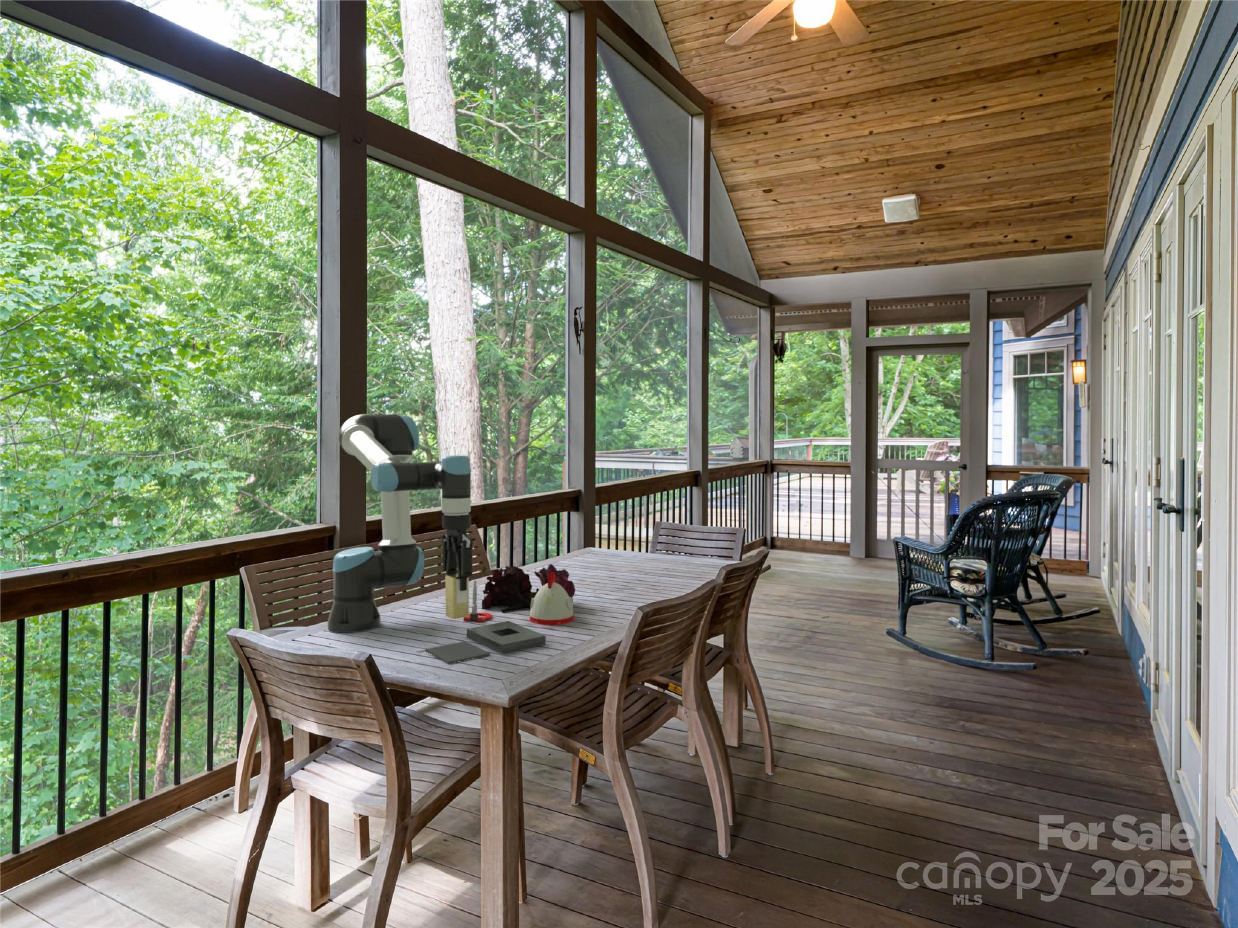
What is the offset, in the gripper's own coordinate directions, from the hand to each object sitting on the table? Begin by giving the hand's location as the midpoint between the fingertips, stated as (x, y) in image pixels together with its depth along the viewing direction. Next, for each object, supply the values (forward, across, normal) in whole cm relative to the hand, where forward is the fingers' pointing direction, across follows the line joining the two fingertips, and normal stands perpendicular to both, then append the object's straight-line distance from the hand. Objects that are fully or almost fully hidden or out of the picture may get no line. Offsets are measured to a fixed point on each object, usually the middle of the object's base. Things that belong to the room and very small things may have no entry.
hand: (457, 600), depth 193 cm
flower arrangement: (+14, +32, -44) cm, 56 cm away
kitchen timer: (+14, +14, -40) cm, 44 cm away
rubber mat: (+14, 0, 0) cm, 14 cm away
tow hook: (+14, +29, -22) cm, 39 cm away
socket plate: (+14, +2, -16) cm, 22 cm away
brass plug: (+4, 0, 0) cm, 4 cm away
